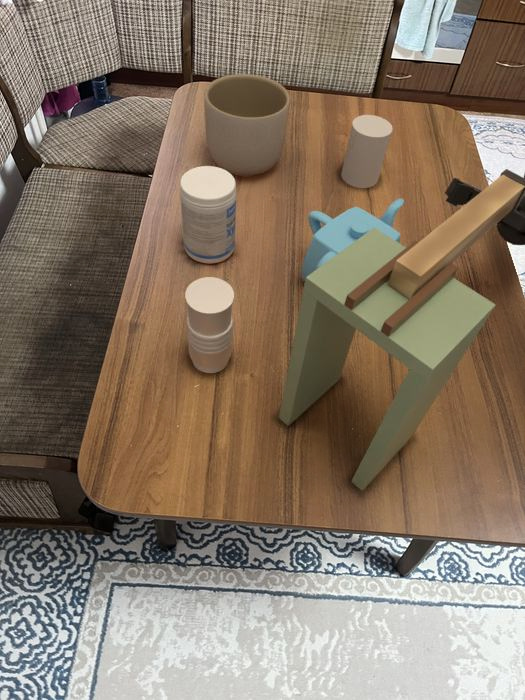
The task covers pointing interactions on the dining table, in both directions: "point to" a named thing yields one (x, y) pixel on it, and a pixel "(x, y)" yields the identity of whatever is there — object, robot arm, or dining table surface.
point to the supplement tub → (208, 213)
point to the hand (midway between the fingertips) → (497, 218)
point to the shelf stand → (380, 337)
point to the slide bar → (456, 234)
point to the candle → (209, 323)
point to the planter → (245, 122)
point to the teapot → (344, 233)
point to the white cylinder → (366, 150)
